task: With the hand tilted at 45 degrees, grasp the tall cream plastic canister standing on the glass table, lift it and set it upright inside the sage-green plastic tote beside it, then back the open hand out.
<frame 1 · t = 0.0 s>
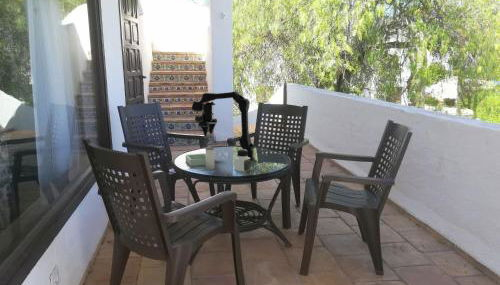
hand: (208, 135, 262), 15 cm above the table, tool pointing down, fingers open, 9 cm apart
medicine bottle: (242, 170, 232), on the table
tote: (198, 163, 246), on the table
canister: (210, 168, 233), on the table
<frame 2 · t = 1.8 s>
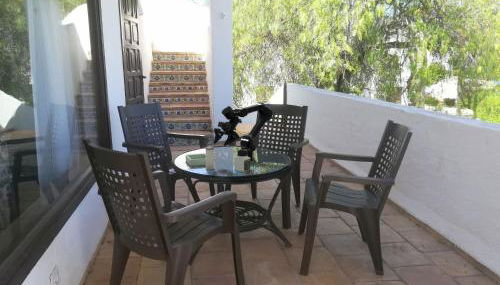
hand: (219, 144, 237), 13 cm above the table, tool tilted 45°, fingers open, 9 cm apart
nothing on the table moved.
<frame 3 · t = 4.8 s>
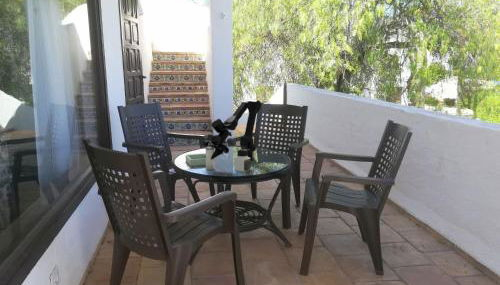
hand: (208, 158, 231), 7 cm above the table, tool tilted 45°, fingers closed on canister, 5 cm apart
canister: (210, 168, 233), on the table, touching gripper
everything else where it was.
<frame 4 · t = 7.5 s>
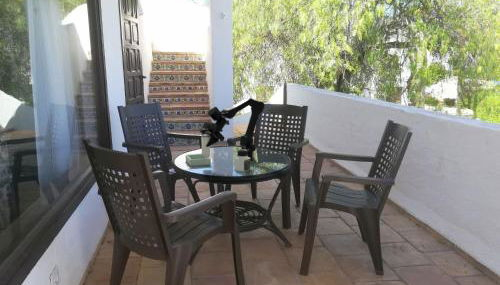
hand: (203, 146, 232), 13 cm above the table, tool tilted 45°, fingers closed on canister, 5 cm apart
canister: (206, 156, 235), point 7 cm above the table, touching gripper
everything else where it was.
when the fingers open (8 cm above the table, at t = 10.0 s): canister drops 1 cm, resting on tote.
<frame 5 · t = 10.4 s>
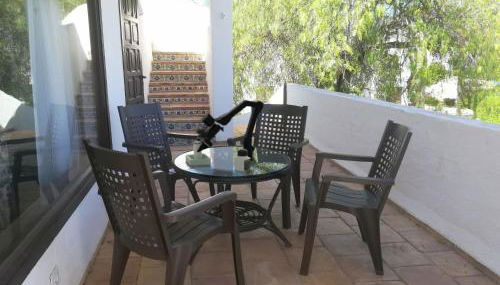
hand: (195, 150, 243), 9 cm above the table, tool tilted 45°, fingers open, 9 cm apart
canister: (198, 162, 245), point 1 cm above the table, touching tote
everything else where it was.
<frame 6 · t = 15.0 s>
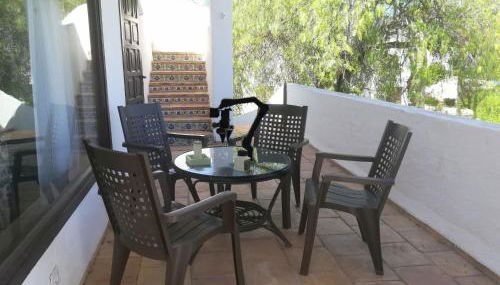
hand: (225, 141, 253), 12 cm above the table, tool pointing down, fingers open, 9 cm apart
nothing on the table moved.
at the end: canister inside the target area on the tote (0.0 cm from its centre), point 0.8 cm above the tote's base; canister tilted 0°; the gripper is holding nothing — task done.
